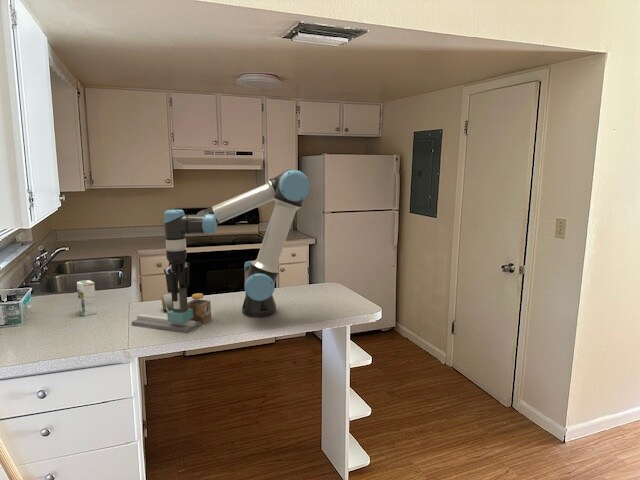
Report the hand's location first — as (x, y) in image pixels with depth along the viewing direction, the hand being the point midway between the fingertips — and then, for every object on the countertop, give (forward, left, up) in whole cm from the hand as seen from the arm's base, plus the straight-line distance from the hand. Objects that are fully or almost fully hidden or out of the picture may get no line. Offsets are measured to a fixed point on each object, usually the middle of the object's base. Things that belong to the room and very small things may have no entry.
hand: (179, 307), depth 177 cm
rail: (+7, 0, -9) cm, 11 cm away
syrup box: (+50, -1, -9) cm, 51 cm away
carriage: (0, 0, -5) cm, 5 cm away
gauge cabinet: (-2, -9, -9) cm, 13 cm away
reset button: (-2, -9, +1) cm, 9 cm away
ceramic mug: (+17, -17, -9) cm, 25 cm away
